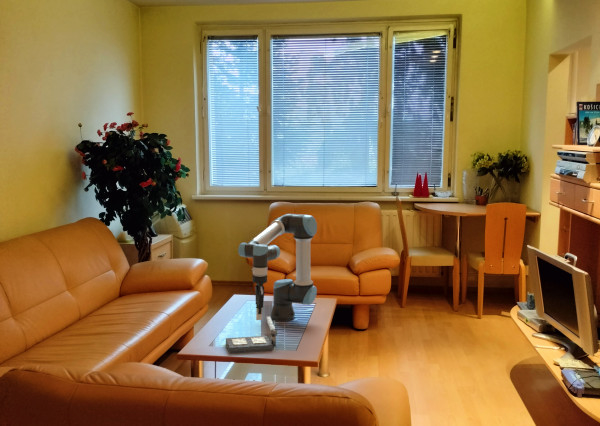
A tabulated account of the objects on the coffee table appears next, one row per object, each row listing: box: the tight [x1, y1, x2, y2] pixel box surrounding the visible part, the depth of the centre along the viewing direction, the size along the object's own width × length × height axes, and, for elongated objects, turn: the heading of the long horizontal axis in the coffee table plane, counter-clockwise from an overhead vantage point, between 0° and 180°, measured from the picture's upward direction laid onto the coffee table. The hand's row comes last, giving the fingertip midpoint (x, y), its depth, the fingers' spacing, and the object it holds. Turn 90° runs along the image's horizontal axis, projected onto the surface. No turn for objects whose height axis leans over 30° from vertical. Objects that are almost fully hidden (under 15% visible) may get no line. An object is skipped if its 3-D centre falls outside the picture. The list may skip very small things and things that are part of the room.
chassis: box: [225, 335, 277, 354], centre depth 277 cm, size 25×14×5 cm, turn 105°
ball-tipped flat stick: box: [266, 315, 278, 337], centre depth 291 cm, size 26×3×3 cm, turn 10°
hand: (259, 319), depth 277 cm, fingers closed
